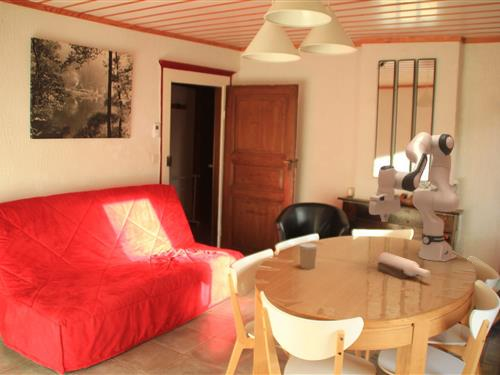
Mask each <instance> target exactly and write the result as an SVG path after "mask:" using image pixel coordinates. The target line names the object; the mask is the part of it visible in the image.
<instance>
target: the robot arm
mask: <svg viewBox="0 0 500 375" xmlns="http://www.w3.org/2000/svg"><path fill="white" fill-rule="evenodd" d="M454 146H455V140H454V138H453V136H452V135H451V134H448V133H442V134H433V135H431V134H430V133H428V132H425V131H422V132H419V133H418V134H416V135H415V136H414V137H413V138H412V140H410V142H409V143H408V144H407V146H406V148H405V156H406V158H407V160H408V161H410V162H411V163H413V164H414V167H413V169H412V170H411V171H409V172H405V171H398V170H396V168H395V167H394V166H393V165H383V166H380V167H379V169H378V170H379V172H378V177H377V185H378V186H377V192H375V193H374V194H371V195H370V196H369V200H370V201H369V202H368V213H369V215H372V216H377V215H379V216H380V219H381V221H380V222H382V223H387V222H388V219H389V218H390V214H394V213H395V214H396V213H400V212H401V199H400V196H399V195H398V194H396V195H395V190H400V191H406V192H409V193H412V192H414V191H416V190H417V189H418V188H419V186H420V184H421V179H422V176H423V174H424V171H425V169H426V167H427V164H428V155H429V156H430V155H432V161H431V164H430V170H429V175H428V181H429V183H430V184H431V185H433V187H435V188H437V191H431V190H430V191H429V190H418V191H416V192H414V193H413V195H412V199H411V201H412V205H413V206H414V208H416V209H417V210H418V211H419V213H420V214H421V217H422V223H423V224H422V225H423V228H422V230H423V231H422V233H421V242H420V247H419V251H418V252H417V255H418V257H419V258H421V259H423V260H426V261H431V262H432V261H435V262H445V263H446V262H447V261H450V260H453V259H456V258H457V255H456V254H454V253H453V248H452V246H451V245H450V243H448V242H447V241H446V239H448V238H449V235H448V234H444V230H445V222H444V220H443V218H441V217H440V216H438V215H436V213H435V211H436V212H445V213H451V212H455V211H456V210H458V208H459V207H460V199H459V197H458V195H456V193H454V192H453V190H452V188H451V186H450V185H451V184H450V176H451V171H452V170H451V169H452V155H451V154H452V151H453V149H454Z"/></svg>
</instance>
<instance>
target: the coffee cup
mask: <svg viewBox="0 0 500 375" xmlns="http://www.w3.org/2000/svg"><path fill="white" fill-rule="evenodd" d="M317 248H318V246H317V245H316V244H315V243H310V242H309V243H300V244H299V264H300V268H301V269H306V270H313V269H315V267H316V260H317V259H316V258H317V257H316V256H317Z"/></svg>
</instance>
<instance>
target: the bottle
mask: <svg viewBox="0 0 500 375" xmlns="http://www.w3.org/2000/svg"><path fill="white" fill-rule="evenodd" d="M378 262H382V263H385V264H388V265H391V266H393V267H396V268H399V269H402V270H404V272H403V274H405V275H408V276H413V277H416V275H417V274H418V276H420V277H423V278H427V279H428V278H430V277H431V274H432V273H431V271H430V270H429V269H425V268H422V267H420V265H419V264H418V263H417V262H416V261H415V260H412V259H408V258H405V257H402V256H399V255H396V254H392V253H391V252H387V251H384V252H382V253H381V254H380V255H379V257H378ZM419 267H420V268H419Z"/></svg>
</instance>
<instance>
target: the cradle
mask: <svg viewBox="0 0 500 375" xmlns="http://www.w3.org/2000/svg"><path fill="white" fill-rule="evenodd" d="M377 264H378V265H377V271H379V272H381V273H384V274H386V275H389V276H390V277H391V276H392V277H394V278H397V279H400V280H402V279H406V278H407V279H408V278H413V277H414V276H408V275H405V274H403V272H404V270H402V269H399V268H396V267H393V266H391V265H388V264H385V263H382V262H379V261H378V262H377ZM419 268H421V266H419ZM416 276H417V277H418V276H419V275H418V274H417V275H416ZM416 276H415V277H416Z"/></svg>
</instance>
